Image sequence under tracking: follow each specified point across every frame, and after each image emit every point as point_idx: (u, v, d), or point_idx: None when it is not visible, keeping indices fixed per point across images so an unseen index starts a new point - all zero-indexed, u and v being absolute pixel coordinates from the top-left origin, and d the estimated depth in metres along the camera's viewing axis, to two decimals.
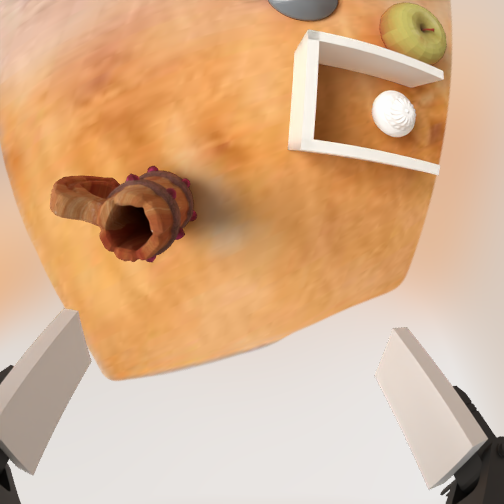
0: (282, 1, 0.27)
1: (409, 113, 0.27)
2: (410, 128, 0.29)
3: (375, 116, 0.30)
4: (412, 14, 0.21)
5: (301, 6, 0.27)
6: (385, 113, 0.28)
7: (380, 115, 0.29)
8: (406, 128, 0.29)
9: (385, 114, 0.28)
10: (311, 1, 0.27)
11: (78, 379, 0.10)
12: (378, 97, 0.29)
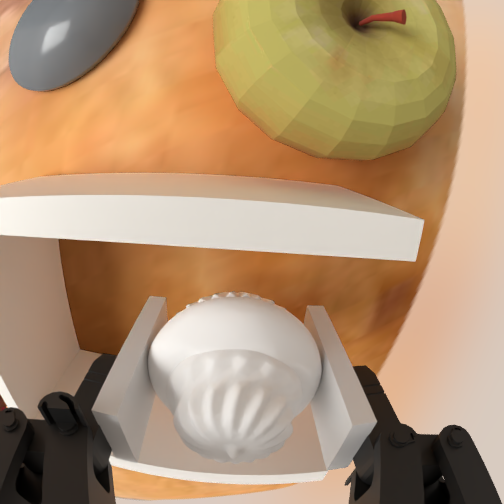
0: (26, 59, 0.10)
1: (244, 453, 0.07)
2: None
3: None
4: None
5: (53, 56, 0.11)
6: (171, 411, 0.08)
7: (165, 402, 0.09)
8: None
9: None
10: (74, 33, 0.10)
11: None
12: (155, 343, 0.09)
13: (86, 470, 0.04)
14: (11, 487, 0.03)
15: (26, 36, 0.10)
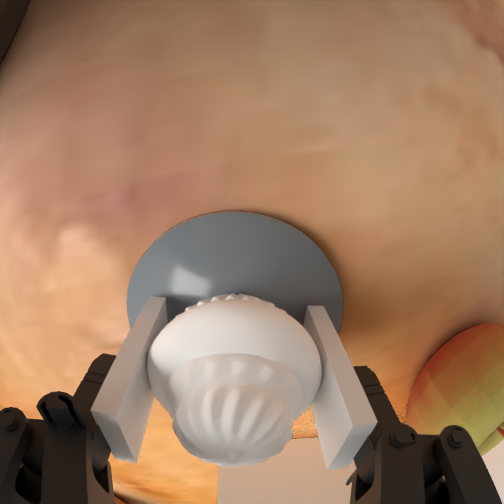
0: None
1: (244, 457, 0.07)
2: None
3: None
4: (491, 432, 0.08)
5: None
6: (171, 414, 0.08)
7: None
8: None
9: None
10: None
11: None
12: (154, 347, 0.08)
13: (85, 470, 0.04)
14: (11, 487, 0.03)
15: None
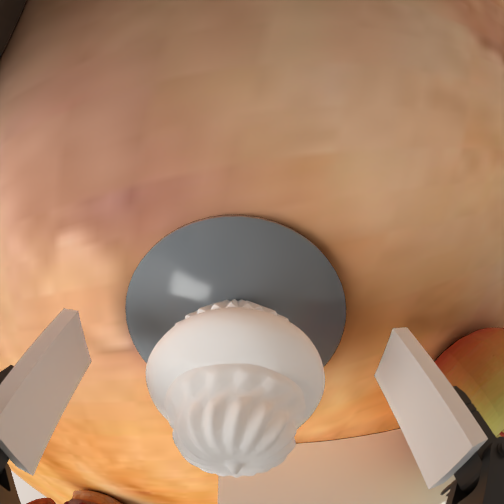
0: None
1: (245, 468, 0.06)
2: None
3: None
4: None
5: None
6: (171, 424, 0.08)
7: None
8: None
9: (173, 426, 0.08)
10: None
11: (78, 379, 0.10)
12: (153, 355, 0.08)
13: None
14: None
15: (162, 330, 0.12)
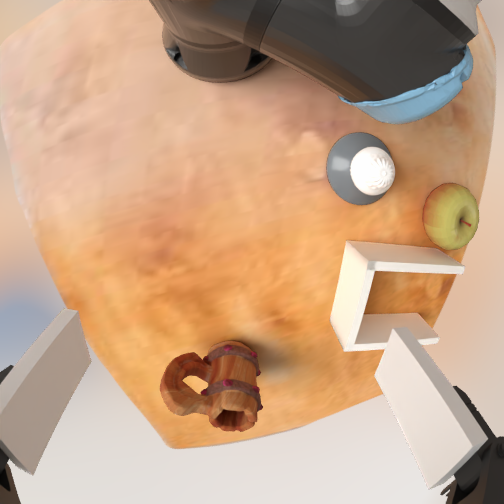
0: (342, 183, 0.37)
1: (386, 175, 0.30)
2: (388, 186, 0.32)
3: (352, 176, 0.33)
4: (457, 212, 0.31)
5: None
6: (362, 175, 0.32)
7: (357, 176, 0.32)
8: (383, 187, 0.32)
9: (362, 176, 0.32)
10: None
11: (79, 379, 0.10)
12: (357, 156, 0.32)
13: None
14: None
15: (339, 167, 0.36)
